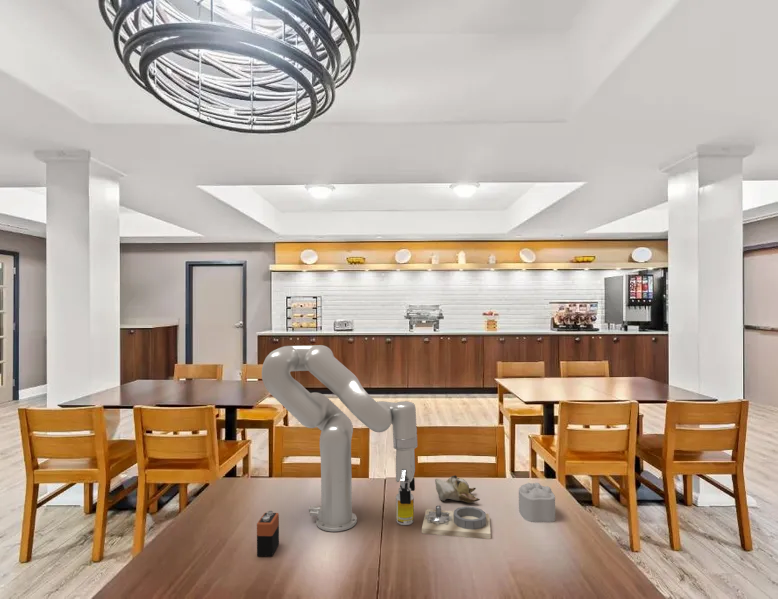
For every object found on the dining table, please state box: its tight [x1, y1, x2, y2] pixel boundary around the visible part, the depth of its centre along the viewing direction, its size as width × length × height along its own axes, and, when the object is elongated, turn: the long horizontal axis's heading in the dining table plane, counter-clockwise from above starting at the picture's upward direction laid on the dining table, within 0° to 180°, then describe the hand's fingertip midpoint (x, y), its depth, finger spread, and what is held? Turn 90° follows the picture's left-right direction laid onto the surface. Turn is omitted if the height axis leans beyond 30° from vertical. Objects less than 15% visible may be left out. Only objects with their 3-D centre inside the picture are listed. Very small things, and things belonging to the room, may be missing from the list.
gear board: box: [421, 508, 492, 540], centre depth 142 cm, size 20×13×2 cm, turn 80°
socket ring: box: [453, 506, 487, 530], centre depth 141 cm, size 10×10×2 cm
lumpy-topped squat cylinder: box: [518, 482, 556, 523], centre depth 150 cm, size 10×13×9 cm
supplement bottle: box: [395, 487, 415, 526], centre depth 145 cm, size 6×6×10 cm
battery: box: [256, 510, 280, 557], centre depth 129 cm, size 4×7×10 cm, turn 177°
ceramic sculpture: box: [434, 475, 481, 504], centre depth 161 cm, size 11×9×15 cm
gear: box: [424, 504, 452, 526], centre depth 143 cm, size 8×8×4 cm
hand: (407, 496), depth 145 cm, fingers open, 9 cm apart
